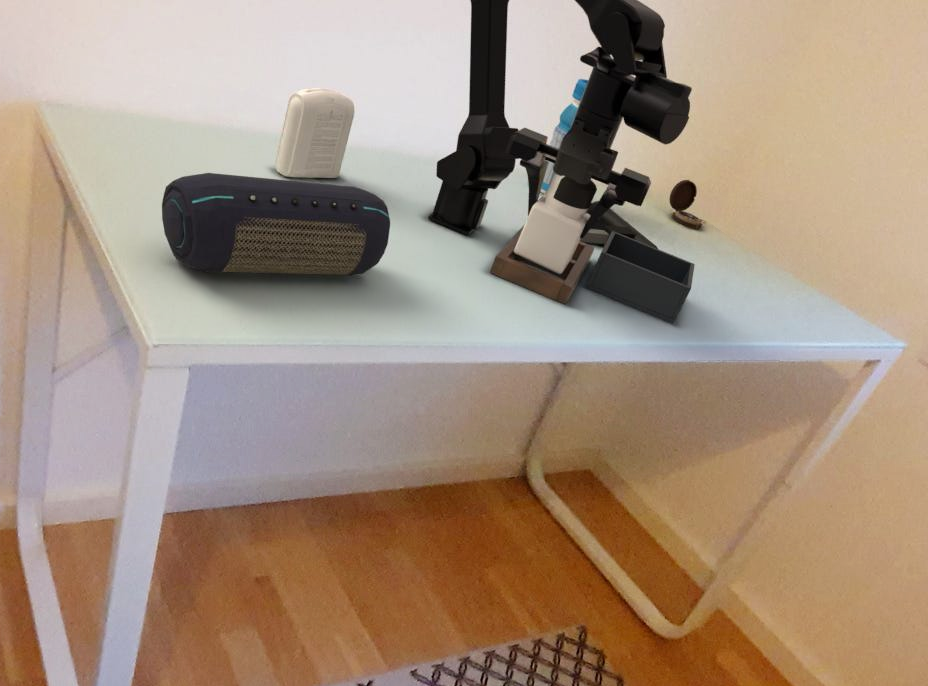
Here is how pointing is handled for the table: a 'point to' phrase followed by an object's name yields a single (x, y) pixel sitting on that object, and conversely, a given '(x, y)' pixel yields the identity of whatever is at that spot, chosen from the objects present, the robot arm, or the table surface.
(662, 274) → the tote
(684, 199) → the compass
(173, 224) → the portable speaker
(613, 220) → the door handle
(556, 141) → the beverage bottle
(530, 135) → the robot arm
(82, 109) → the table surface
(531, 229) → the medicine bottle
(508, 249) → the frame
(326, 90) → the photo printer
